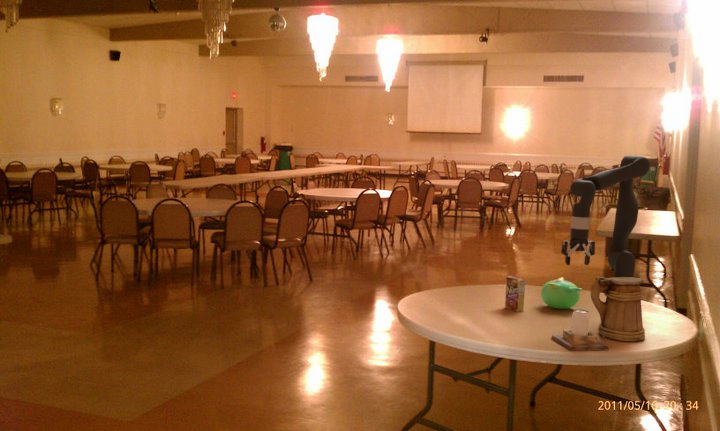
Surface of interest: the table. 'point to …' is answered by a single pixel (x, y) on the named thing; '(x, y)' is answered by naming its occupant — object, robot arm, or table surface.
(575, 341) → the socket stand
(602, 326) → the tankard
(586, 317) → the can
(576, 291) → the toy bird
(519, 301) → the candy box
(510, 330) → the table surface
